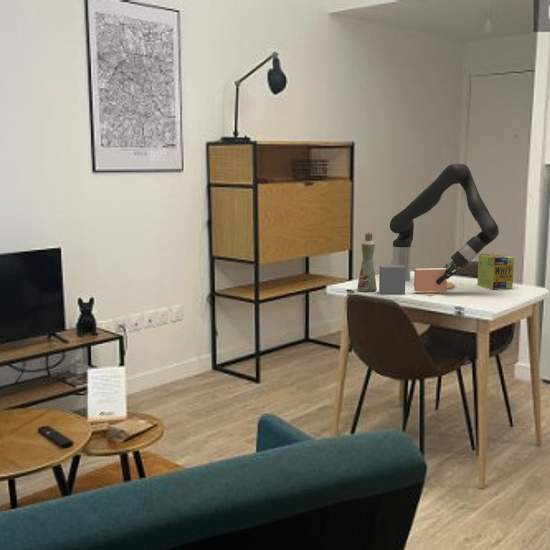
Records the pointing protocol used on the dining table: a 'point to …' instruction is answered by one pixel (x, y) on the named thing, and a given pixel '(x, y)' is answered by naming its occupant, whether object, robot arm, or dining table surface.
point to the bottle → (367, 266)
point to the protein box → (495, 271)
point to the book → (429, 279)
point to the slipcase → (392, 279)
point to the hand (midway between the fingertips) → (436, 282)
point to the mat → (430, 293)
